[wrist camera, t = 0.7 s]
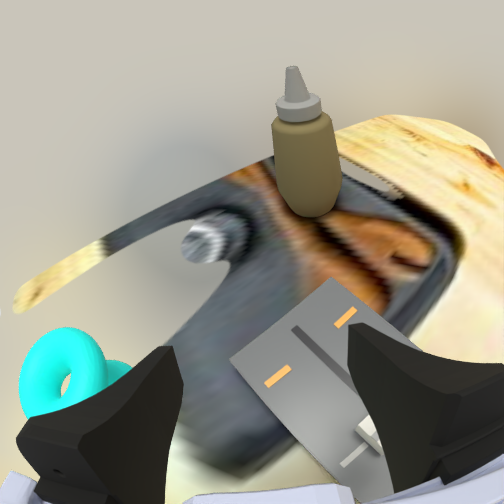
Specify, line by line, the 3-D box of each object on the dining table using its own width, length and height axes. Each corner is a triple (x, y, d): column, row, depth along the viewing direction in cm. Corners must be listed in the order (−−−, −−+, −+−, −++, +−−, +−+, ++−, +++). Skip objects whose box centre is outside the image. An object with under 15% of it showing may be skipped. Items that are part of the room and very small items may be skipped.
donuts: (24, 449, 15) (8, 354, 21) (98, 468, 22) (71, 392, 28) (109, 399, 17) (77, 301, 23) (173, 427, 24) (134, 350, 31)
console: (466, 406, 19) (478, 398, 17) (369, 511, 16) (374, 515, 14) (331, 291, 30) (331, 276, 28) (236, 368, 27) (228, 358, 25)
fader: (426, 406, 18) (439, 397, 16) (381, 455, 17) (389, 453, 15) (400, 383, 20) (409, 371, 18) (354, 429, 19) (358, 424, 17)
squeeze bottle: (296, 179, 43) (272, 58, 30) (350, 189, 39) (342, 58, 26) (270, 217, 39) (235, 81, 26) (331, 231, 35) (317, 81, 22)
